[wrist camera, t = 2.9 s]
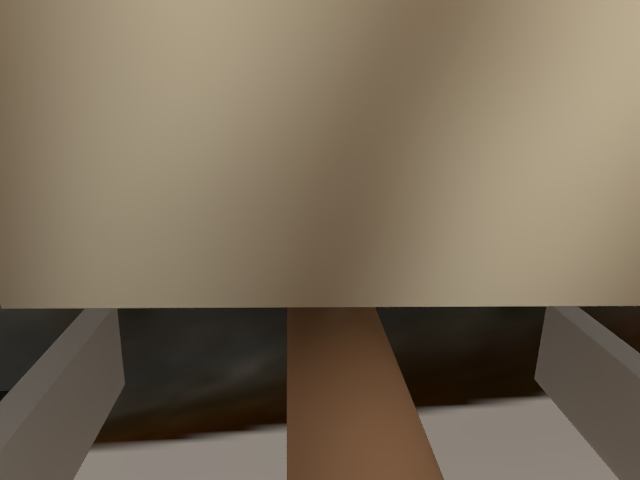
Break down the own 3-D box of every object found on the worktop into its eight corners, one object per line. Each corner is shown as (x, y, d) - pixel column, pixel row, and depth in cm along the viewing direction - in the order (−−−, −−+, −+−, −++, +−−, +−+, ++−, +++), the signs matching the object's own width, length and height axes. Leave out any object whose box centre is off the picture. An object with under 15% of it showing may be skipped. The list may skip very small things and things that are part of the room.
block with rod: (246, 336, 19) (195, 652, 8) (236, -136, 14) (102, -729, 4) (405, 335, 19) (548, 635, 9) (442, -125, 15) (817, -636, 4)
